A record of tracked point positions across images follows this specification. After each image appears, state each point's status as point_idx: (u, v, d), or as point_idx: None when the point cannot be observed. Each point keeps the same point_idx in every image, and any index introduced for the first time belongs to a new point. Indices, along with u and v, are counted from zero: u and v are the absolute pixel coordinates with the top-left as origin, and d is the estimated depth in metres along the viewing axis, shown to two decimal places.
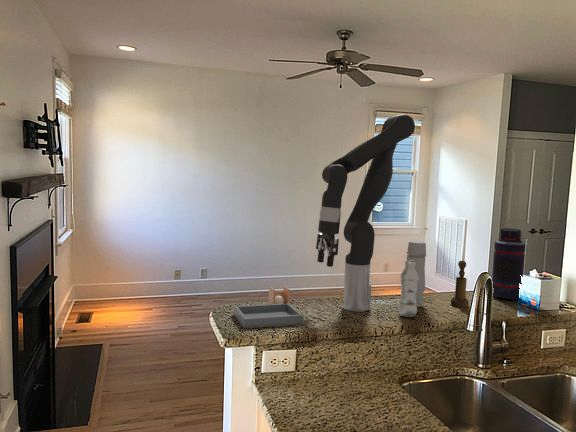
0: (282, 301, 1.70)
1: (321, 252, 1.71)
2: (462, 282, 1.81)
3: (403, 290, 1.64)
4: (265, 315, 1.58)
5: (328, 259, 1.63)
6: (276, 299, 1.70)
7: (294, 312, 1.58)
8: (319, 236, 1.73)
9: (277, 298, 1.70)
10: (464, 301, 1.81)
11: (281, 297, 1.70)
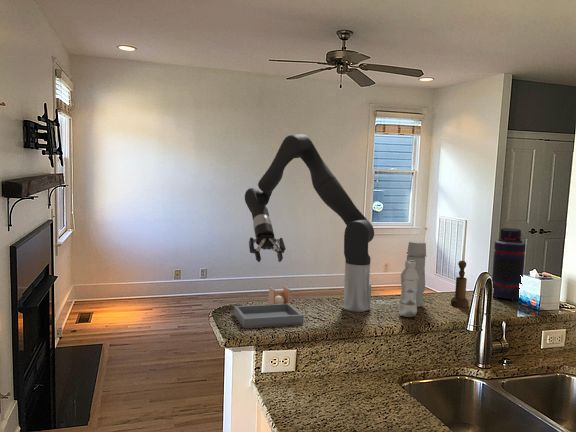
0: (282, 301, 1.70)
1: (277, 253, 1.84)
2: (462, 282, 1.81)
3: (403, 290, 1.64)
4: (265, 315, 1.58)
5: None
6: (276, 299, 1.70)
7: (294, 312, 1.58)
8: None
9: (277, 298, 1.70)
10: (464, 301, 1.81)
11: (281, 297, 1.70)
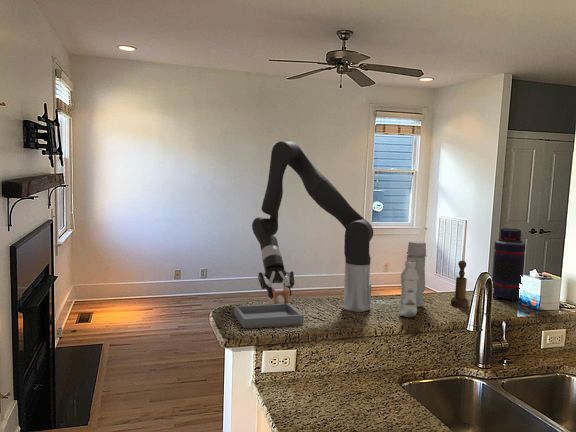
0: (283, 300, 1.70)
1: None
2: (462, 282, 1.81)
3: (403, 290, 1.64)
4: (265, 315, 1.58)
5: None
6: (277, 297, 1.70)
7: (294, 312, 1.58)
8: None
9: (279, 296, 1.70)
10: (464, 301, 1.81)
11: None
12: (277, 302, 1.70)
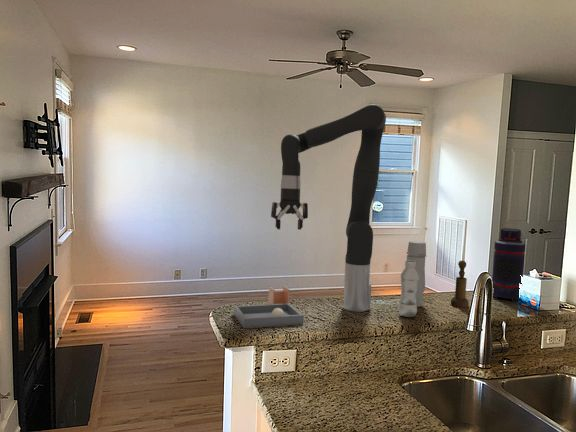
0: None
1: (299, 219, 1.81)
2: (462, 282, 1.81)
3: (403, 290, 1.64)
4: (265, 315, 1.58)
5: None
6: (272, 312, 1.53)
7: (294, 312, 1.58)
8: None
9: (272, 311, 1.53)
10: (464, 301, 1.81)
11: None
12: (276, 311, 1.52)
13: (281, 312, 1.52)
